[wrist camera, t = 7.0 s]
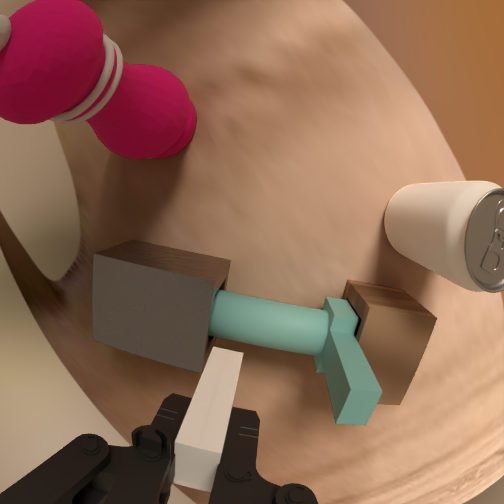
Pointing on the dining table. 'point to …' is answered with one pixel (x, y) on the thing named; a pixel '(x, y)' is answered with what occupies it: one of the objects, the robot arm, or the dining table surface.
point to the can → (451, 230)
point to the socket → (390, 335)
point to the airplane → (306, 344)
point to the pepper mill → (88, 82)
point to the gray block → (156, 302)
